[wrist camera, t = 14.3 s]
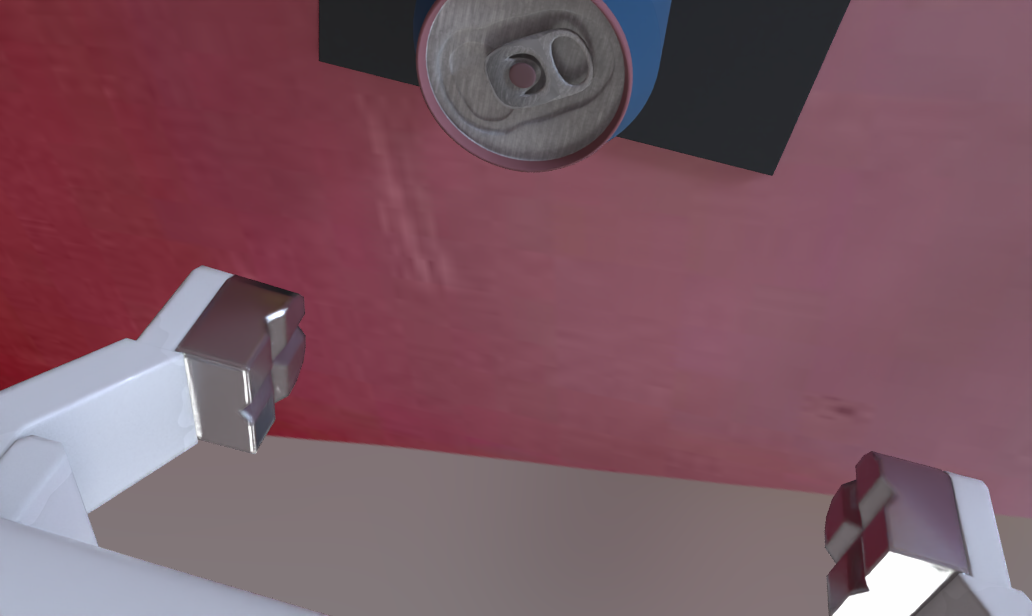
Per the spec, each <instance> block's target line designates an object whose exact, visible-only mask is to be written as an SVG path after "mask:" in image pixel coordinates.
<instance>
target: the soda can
mask: <svg viewBox="0 0 1032 616" xmlns="http://www.w3.org/2000/svg"><path fill="white" fill-rule="evenodd" d="M671 1H672V0H416V5H415V10H414V18H413V40H414V48H415V53H416V70H417V77H418V82H419V86H420V89H421V92H422V95H423V98H424V100H425V102H426V104H427V107H428V108H429V110H430V112H431V114H432V115H433V117H434V118H435V120H436V121H437V123H438V124H439V125H440V127H441V128H442V129H443V130H444V131H445V132H446V134H447V135H448V136H449V137H450V138H451V139H453V140H454V141H455V142H456V143H457V144H458V145H460V146H461V147H462V148H463V149H465V150H466V151H468V152H469V153H471V154H473V155H474V156H476V157H478V158H480V159H482V160H484V161H486V162H488V163H491V164H493V165H496V166H499V167H502V168H505V169H509V170H514V171H520V172H546V171H552V170H557V169H561V168H564V167H567V166H570V165H573V164H575V163H577V162H580V161H582V160H583V159H585V158H587V157H589V156H590V155H592V154H593V153H595V152H596V151H597V150H598V149H600V148H601V147H602V146H603V145H604V144H605V143H606V142H608V141H610V140H611V139H613V138H614V137H616V136H617V135H618V134H619V133H621V132H622V131H623V130H624V129H625V128H626V127H627V126H628V125H629V124H630V123H631V122H632V121H633V120H634V119H635V118H636V116H637V115H638V114H639V113H640V111H641V110H642V108H643V107H644V105H645V104H646V102H647V100H648V98H649V96H650V94H651V92H652V90H653V87H654V84H655V81H656V78H657V74H658V70H659V65H660V60H661V55H662V49H663V44H664V38H665V33H666V28H667V22H668V17H669V11H670V6H671Z"/></svg>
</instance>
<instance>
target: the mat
mask: <svg viewBox="0 0 1032 616" xmlns="http://www.w3.org/2000/svg"><path fill="white" fill-rule="evenodd" d="M849 3H850V0H672V1H671V6H670V11H669V17H668V22H667V28H666V33H665V38H664V44H663V49H662V55H661V60H660V65H659V70H658V74H657V78H656V81H655V84H654V87H653V90H652V92H651V94H650V96H649V98H648V100H647V102H646V104H645V105H644V107H643V108H642V110H641V111H640V113H639V114H638V115H637V116H636V118H635V119H634V120H633V121H632V122H631V123H630V124H629V125H628V126H627V127H626V128H625V129H624V130H623V131H622V132H621V133H619V134H618V135H617V137H621V138H625V139H629V140H633V141H637V142H641V143H645V144H649V145H653V146H657V147H661V148H665V149H669V150H672V151H676V152H680V153H684V154H688V155H692V156H696V157H700V158H704V159H708V160H712V161H716V162H720V163H724V164H728V165H732V166H736V167H740V168H743V169H747V170H751V171H755V172H759V173H763V174H767V175H771V176H772V175H773V174H774V171H775V169H776V167H777V165H778V162H779V160H780V158H781V156H782V153H783V151H784V149H785V147H786V144H787V142H788V140H789V138H790V135H791V133H792V131H793V129H794V126H795V124H796V122H797V120H798V117H799V115H800V113H801V111H802V108H803V106H804V104H805V102H806V99H807V97H808V95H809V93H810V90H811V88H812V86H813V84H814V81H815V79H816V77H817V75H818V72H819V70H820V68H821V66H822V63H823V61H824V59H825V57H826V54H827V52H828V50H829V48H830V45H831V43H832V41H833V39H834V36H835V34H836V32H837V30H838V27H839V25H840V23H841V21H842V18H843V16H844V14H845V12H846V9H847V7H848V5H849ZM415 5H416V0H319V61H321V62H325V63H329V64H333V65H337V66H341V67H345V68H349V69H353V70H357V71H361V72H365V73H369V74H373V75H376V76H380V77H384V78H388V79H392V80H396V81H400V82H404V83H408V84H412V85H416V86H419V82H418V77H417V70H416V53H415V48H414V40H413V18H414V10H415Z"/></svg>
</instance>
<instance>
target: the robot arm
mask: <svg viewBox="0 0 1032 616" xmlns="http://www.w3.org/2000/svg"><path fill="white" fill-rule="evenodd" d="M304 315H305V306H304V297H303V296H301V295H300V294H298V293H294V292H291V291H288V290H284V289H281V288H278V287H274V286H271V285H268V284H265V283H261V282H258V281H255V280H251V279H248V278H245V277H241V276H238V275H233V274H230V273H226V272H223V271H220V270H216V269H213V268H210V267H206V266H203V265H202V266H200V267H198V268H196V269H194V270H193V271H191V273H190V274H189V275H188V276H187V278H186V279H185V280H184V281H183V283H182V284H181V285H180V286H179V288H178V289H177V290H176V291H175V293H174V294H173V295H172V296H171V298H170V299H169V300H168V301H167V303H166V304H165V305H164V306H163V308H162V309H161V310H160V311H159V312H158V314H157V315H156V316H155V317H154V319H153V320H152V321H151V322H150V324H149V325H148V326H147V327H146V329H145V330H144V331H143V332H142V334H141V335H140V336H139V337H138V339H137V340H132V339H128V338H125V339H123V340H120V341H118V342H116V343H113V344H111V345H108V346H106V347H104V348H101V349H99V350H97V351H94V352H92V353H89V354H87V355H85V356H82V357H80V358H78V359H75V360H73V361H70V362H68V363H66V364H63V365H61V366H59V367H56V368H54V369H51V370H49V371H47V372H44V373H42V374H40V375H37V376H35V377H32V378H30V379H28V380H25V381H23V382H21V383H18V384H16V385H13V386H11V387H9V388H6V389H4V390H2V391H0V616H330V615H326V614H323V613H320V612H317V611H313V610H310V609H306V608H303V607H300V606H296V605H293V604H289V603H286V602H283V601H279V600H276V599H273V598H269V597H266V596H263V595H259V594H256V593H252V592H249V591H246V590H242V589H239V588H236V587H232V586H229V585H226V584H222V583H219V582H216V581H212V580H209V579H205V578H202V577H199V576H195V575H192V574H189V573H185V572H182V571H178V570H175V569H172V568H168V567H165V566H162V565H158V564H155V563H151V562H148V561H145V560H141V559H138V558H135V557H131V556H128V555H125V554H121V553H118V552H114V551H111V550H108V549H104V548H101V547H99V546H98V542H97V540H96V537H95V534H94V531H93V529H92V526H91V523H90V520H89V517H88V513H90V512H92V511H93V510H95V509H96V508H98V507H99V506H101V505H102V504H104V503H105V502H107V501H108V500H110V499H112V498H113V497H115V496H116V495H118V494H119V493H121V492H123V491H124V490H126V489H127V488H129V487H130V486H132V485H133V484H135V483H137V482H138V481H140V480H141V479H143V478H144V477H146V476H147V475H149V474H151V473H152V472H154V471H155V470H157V469H158V468H160V467H161V466H163V465H165V464H166V463H168V462H169V461H171V460H172V459H174V458H175V457H177V456H179V455H180V454H182V453H183V452H185V451H186V450H188V449H189V448H191V447H193V446H194V445H196V444H197V443H198V440H202V441H206V442H209V443H213V444H217V445H221V446H225V447H229V448H233V449H236V450H240V451H245V452H248V453H252V454H256V452H257V450H258V448H259V446H260V444H261V443H262V441H263V440H264V438H265V436H266V434H267V433H268V431H269V429H270V428H271V426H272V424H273V422H274V421H275V403H276V402H278V401H279V400H281V399H283V398H285V397H287V396H289V394H290V392H291V390H292V388H293V387H294V385H295V383H296V381H297V378H298V376H299V373H300V370H301V367H302V364H303V360H304V354H305V348H306V341H305V334H304V333H303V332H302V330H301V329H300V328H299V326H298V325H299V323H300V321H301V320H302V318H303V316H304ZM855 468H856V480H854V481H851V482H848V483H846V484H843V485H841V487H840V488H839V490H838V491H837V493H836V494H835V496H834V497H833V499H832V501H831V504H830V508H829V511H828V513H827V516H826V524H825V548H826V550H827V551H828V553H829V554H830V556H831V557H832V559H833V560H834V562H835V563H836V565H835V566H834V568H833V569H832V570H831V571H830V572H829V574H828V575H827V592H828V609H829V616H1032V602H1031V601H1030V600H1029V598H1028V597H1027V596H1026V595H1025V594H1024V592H1023V591H1020V590H1017V589H1014V588H1011V583H1010V579H1009V575H1008V571H1007V566H1006V562H1005V558H1004V554H1003V549H1002V545H1001V541H1000V537H999V532H998V528H997V524H996V520H995V515H994V511H993V507H992V503H991V499H990V494H989V490H988V488H987V486H986V485H985V484H984V482H983V481H981V480H977V479H974V478H970V477H966V476H962V475H959V474H955V473H951V472H948V471H942V470H940V469H937V468H933V467H930V466H926V465H922V464H918V463H914V462H911V461H907V460H903V459H899V458H896V457H892V456H888V455H884V454H880V453H877V452H873V451H871V452H869V453H867V454H865V455H864V456H863V457H862V458H861V460H860V461H859V462H858V464H857V465H856V466H855Z"/></svg>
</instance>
